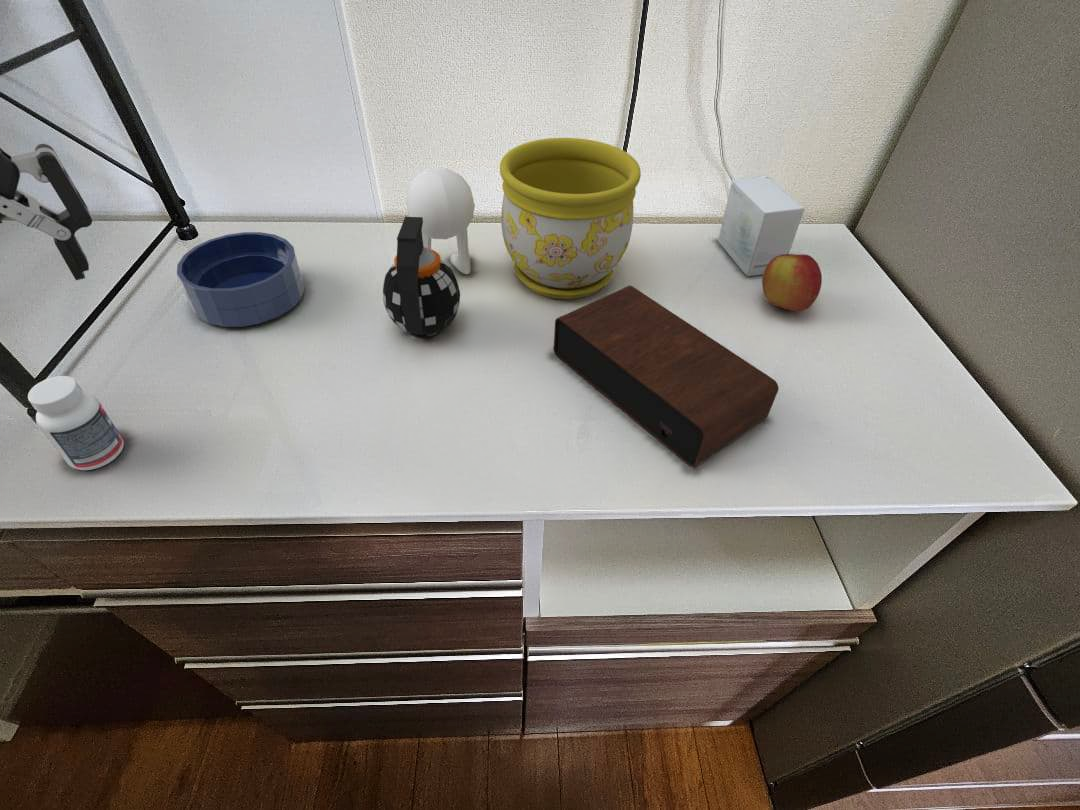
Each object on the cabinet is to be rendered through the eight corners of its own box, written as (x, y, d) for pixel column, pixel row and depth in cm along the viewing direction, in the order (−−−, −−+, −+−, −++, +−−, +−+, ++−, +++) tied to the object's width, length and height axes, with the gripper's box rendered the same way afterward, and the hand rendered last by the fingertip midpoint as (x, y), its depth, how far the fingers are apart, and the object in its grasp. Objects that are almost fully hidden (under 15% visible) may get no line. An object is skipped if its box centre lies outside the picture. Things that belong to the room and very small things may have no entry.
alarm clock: (765, 422, 71) (780, 383, 66) (694, 470, 65) (707, 432, 61) (621, 320, 84) (627, 282, 79) (553, 353, 78) (555, 315, 74)
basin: (177, 330, 79) (158, 291, 75) (213, 269, 89) (199, 231, 85) (291, 330, 80) (279, 290, 76) (314, 269, 90) (305, 232, 86)
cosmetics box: (714, 241, 99) (730, 177, 92) (751, 237, 100) (770, 174, 93) (745, 277, 92) (764, 211, 85) (784, 273, 93) (807, 207, 86)
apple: (815, 300, 88) (836, 249, 83) (804, 330, 83) (825, 278, 78) (762, 284, 91) (778, 234, 85) (747, 313, 86) (764, 262, 80)
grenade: (455, 361, 77) (445, 253, 66) (378, 357, 77) (356, 249, 66) (466, 306, 85) (459, 202, 74) (396, 304, 85) (379, 199, 74)
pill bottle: (136, 443, 66) (97, 381, 59) (92, 478, 62) (45, 416, 56) (101, 427, 67) (58, 364, 61) (55, 460, 64) (6, 397, 58)
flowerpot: (588, 234, 100) (597, 129, 88) (649, 293, 88) (669, 181, 77) (482, 257, 94) (478, 148, 82) (533, 324, 82) (536, 208, 71)
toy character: (467, 250, 95) (461, 152, 85) (485, 282, 89) (482, 181, 79) (408, 261, 92) (394, 161, 82) (423, 294, 87) (411, 191, 76)
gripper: (9, 49, 46) (109, 247, 57) (-256, 80, 40) (-85, 294, 51) (18, 79, 41) (124, 286, 53) (-278, 118, 35) (-87, 343, 47)
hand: (21, 290), depth 52 cm, fingers open, 8 cm apart
